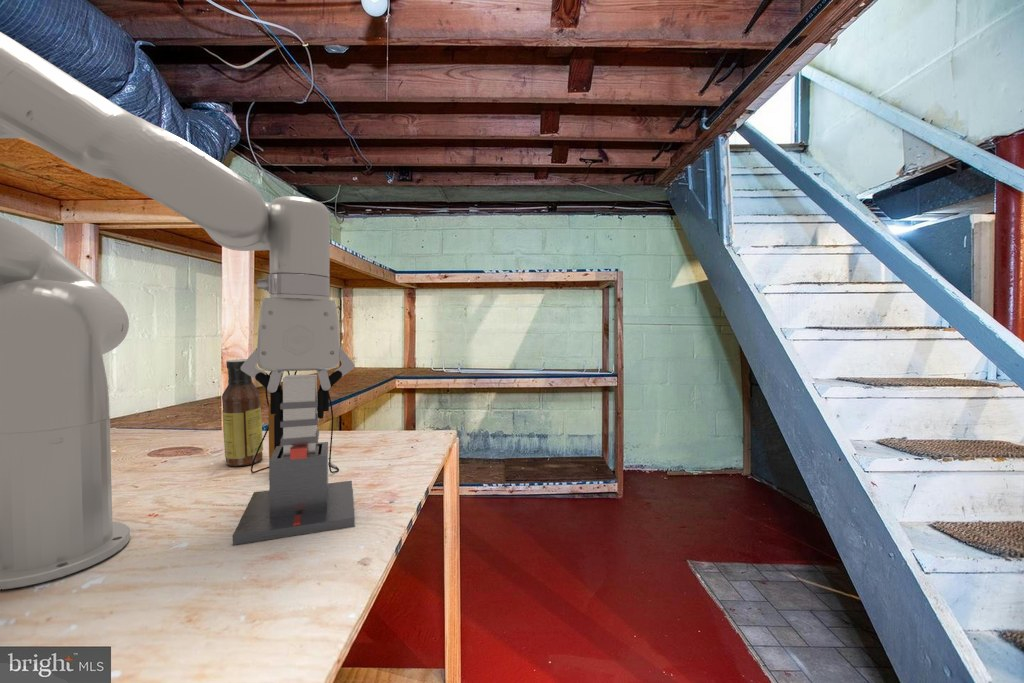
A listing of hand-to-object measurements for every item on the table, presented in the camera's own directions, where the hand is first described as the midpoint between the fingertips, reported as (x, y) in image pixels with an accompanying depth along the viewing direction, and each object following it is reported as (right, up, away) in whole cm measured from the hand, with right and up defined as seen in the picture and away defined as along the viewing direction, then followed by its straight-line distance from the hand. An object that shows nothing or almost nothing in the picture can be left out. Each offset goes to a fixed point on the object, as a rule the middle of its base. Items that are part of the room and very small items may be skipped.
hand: (300, 416), depth 60 cm
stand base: (0, -14, +1) cm, 14 cm away
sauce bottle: (-22, -13, +21) cm, 33 cm away
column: (0, -10, +1) cm, 10 cm away
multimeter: (-9, -13, +19) cm, 25 cm away
